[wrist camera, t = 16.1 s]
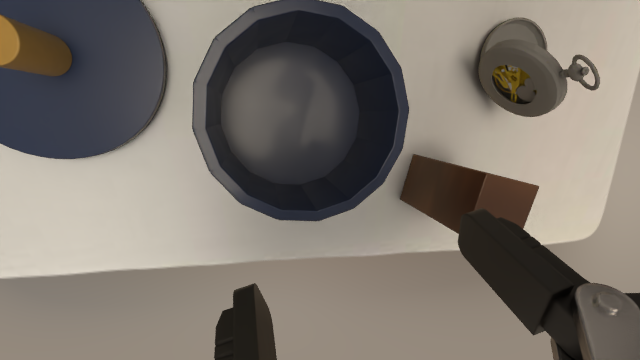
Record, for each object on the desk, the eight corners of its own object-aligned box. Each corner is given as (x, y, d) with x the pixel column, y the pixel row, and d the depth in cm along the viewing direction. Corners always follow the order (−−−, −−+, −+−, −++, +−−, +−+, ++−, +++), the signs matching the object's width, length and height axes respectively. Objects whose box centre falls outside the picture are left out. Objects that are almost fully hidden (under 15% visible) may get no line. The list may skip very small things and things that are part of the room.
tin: (215, 20, 21) (195, -26, 14) (373, 49, 24) (423, 21, 17) (209, 186, 24) (190, 217, 17) (354, 193, 27) (390, 223, 19)
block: (413, 153, 27) (487, 172, 18) (452, 163, 28) (539, 186, 19) (399, 199, 28) (464, 237, 19) (438, 207, 29) (516, 246, 20)
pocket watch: (548, 37, 27) (706, -4, 18) (512, 124, 29) (642, 131, 19) (478, 1, 25) (615, -67, 16) (443, 98, 26) (550, 89, 17)
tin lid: (-83, -82, 17) (-242, -174, 12) (169, -30, 20) (137, -83, 15) (-51, 148, 20) (-168, 162, 14) (168, 163, 23) (140, 179, 17)
